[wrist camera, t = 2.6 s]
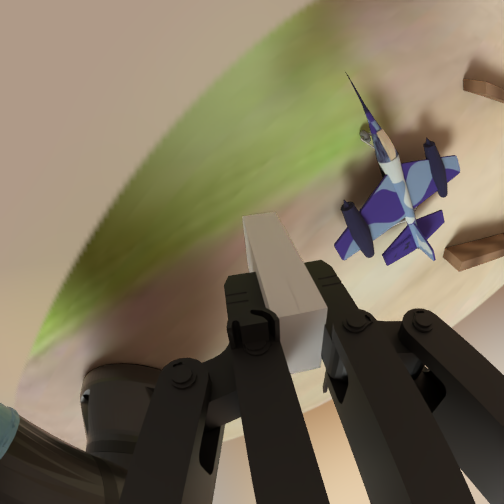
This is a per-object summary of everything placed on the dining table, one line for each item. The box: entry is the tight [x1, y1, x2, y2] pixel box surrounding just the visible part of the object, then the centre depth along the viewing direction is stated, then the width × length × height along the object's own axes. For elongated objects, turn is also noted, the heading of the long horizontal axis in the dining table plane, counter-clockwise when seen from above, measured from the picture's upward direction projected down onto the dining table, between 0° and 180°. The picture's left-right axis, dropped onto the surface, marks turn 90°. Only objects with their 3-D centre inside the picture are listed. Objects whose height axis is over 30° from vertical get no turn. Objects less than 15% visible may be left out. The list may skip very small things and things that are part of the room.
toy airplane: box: [334, 73, 460, 266], centre depth 20 cm, size 13×14×4 cm
